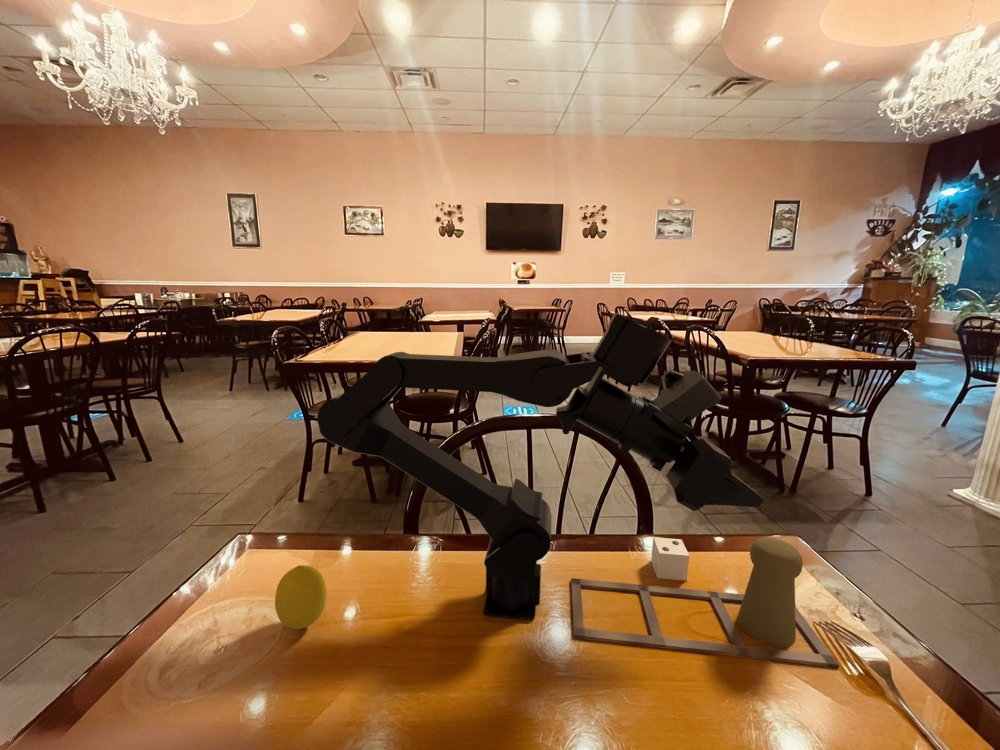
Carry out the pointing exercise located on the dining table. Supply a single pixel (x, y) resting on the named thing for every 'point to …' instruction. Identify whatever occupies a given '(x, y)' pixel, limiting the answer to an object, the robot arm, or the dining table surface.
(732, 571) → the dining table surface
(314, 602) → the lemon
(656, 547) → the die
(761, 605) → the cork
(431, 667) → the dining table surface
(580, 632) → the three-pane window frame
